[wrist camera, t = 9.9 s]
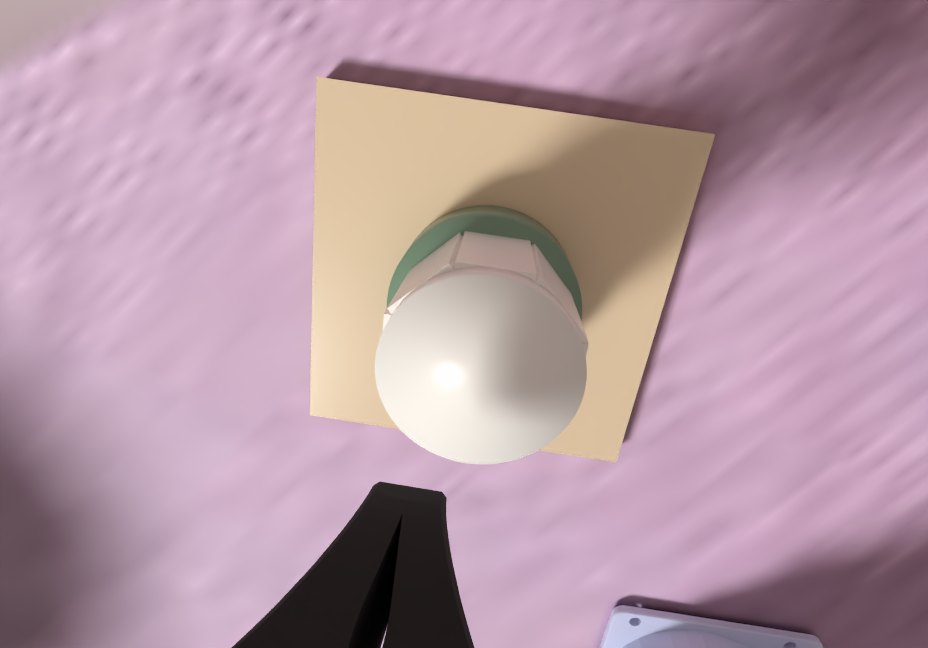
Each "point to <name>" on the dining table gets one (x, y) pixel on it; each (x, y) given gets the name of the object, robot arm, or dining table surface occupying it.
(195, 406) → the dining table surface
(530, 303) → the cap
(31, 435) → the dining table surface
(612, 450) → the beige square tray
